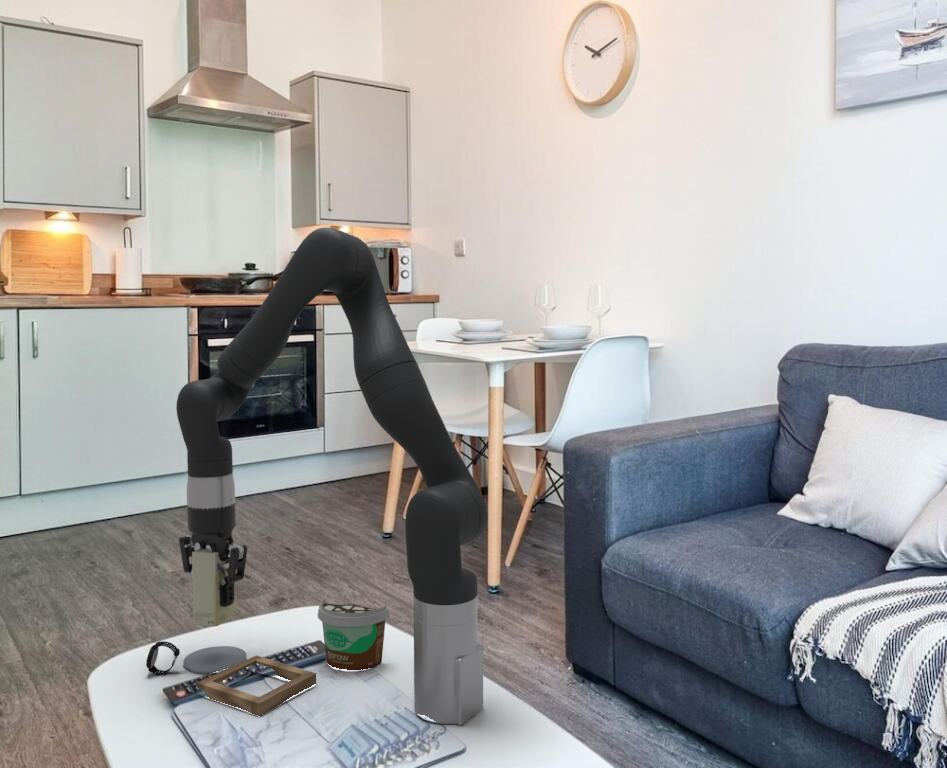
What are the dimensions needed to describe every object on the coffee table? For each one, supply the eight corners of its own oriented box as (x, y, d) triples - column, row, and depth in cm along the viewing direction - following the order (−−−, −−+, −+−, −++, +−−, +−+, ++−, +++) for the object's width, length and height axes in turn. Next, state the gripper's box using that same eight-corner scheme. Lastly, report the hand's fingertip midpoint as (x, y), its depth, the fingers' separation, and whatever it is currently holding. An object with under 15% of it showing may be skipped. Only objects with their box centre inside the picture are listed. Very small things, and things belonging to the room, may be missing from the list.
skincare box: (216, 627, 138) (215, 554, 137) (191, 625, 139) (190, 552, 138) (235, 614, 144) (234, 543, 143) (211, 611, 145) (210, 541, 144)
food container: (304, 669, 139) (303, 609, 138) (322, 655, 145) (321, 597, 144) (374, 679, 135) (374, 617, 135) (390, 664, 141) (389, 604, 140)
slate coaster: (259, 657, 144) (259, 654, 144) (212, 679, 135) (212, 675, 135) (217, 645, 149) (217, 641, 149) (170, 665, 141) (170, 661, 141)
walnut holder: (316, 685, 133) (316, 673, 133) (259, 716, 123) (258, 703, 123) (256, 667, 140) (256, 655, 140) (197, 695, 130) (197, 682, 130)
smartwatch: (157, 666, 140) (156, 637, 140) (183, 671, 139) (182, 641, 138) (140, 677, 136) (139, 646, 136) (167, 681, 135) (166, 650, 134)
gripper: (259, 502, 139) (262, 603, 141) (199, 491, 147) (202, 588, 148) (223, 511, 133) (226, 617, 134) (163, 500, 141) (166, 600, 142)
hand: (214, 601), depth 141 cm, fingers closed on skincare box, 5 cm apart
